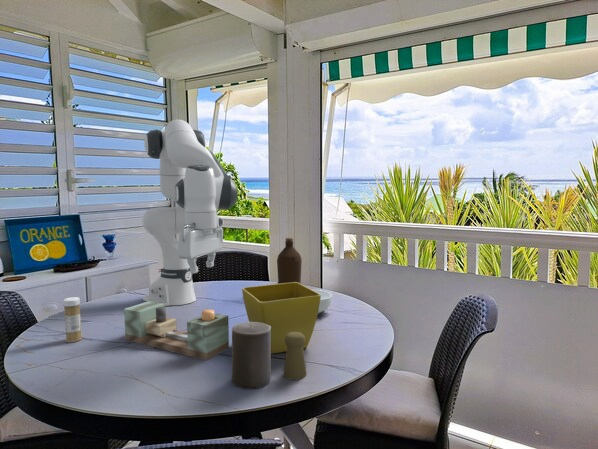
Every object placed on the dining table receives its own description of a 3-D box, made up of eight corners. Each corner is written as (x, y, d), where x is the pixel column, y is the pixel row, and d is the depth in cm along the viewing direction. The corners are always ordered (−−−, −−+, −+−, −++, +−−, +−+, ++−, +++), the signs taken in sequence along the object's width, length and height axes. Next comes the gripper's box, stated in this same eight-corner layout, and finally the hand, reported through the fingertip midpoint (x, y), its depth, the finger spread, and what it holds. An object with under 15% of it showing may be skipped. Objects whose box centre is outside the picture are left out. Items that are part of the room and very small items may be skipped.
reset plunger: (199, 325, 127) (198, 312, 127) (207, 321, 130) (207, 308, 130) (209, 327, 125) (208, 313, 125) (217, 323, 129) (216, 310, 128)
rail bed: (125, 339, 138) (124, 308, 137) (150, 330, 147) (148, 301, 146) (206, 360, 123) (206, 325, 122) (228, 348, 131) (228, 315, 130)
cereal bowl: (337, 309, 171) (338, 291, 170) (321, 321, 156) (321, 302, 155) (298, 304, 178) (298, 286, 177) (279, 315, 163) (279, 297, 162)
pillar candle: (238, 392, 104) (237, 331, 103) (227, 375, 113) (227, 318, 112) (276, 385, 108) (276, 326, 107) (263, 369, 117) (263, 314, 115)
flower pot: (241, 338, 139) (241, 286, 138) (296, 330, 147) (296, 281, 145) (260, 361, 122) (260, 302, 120) (322, 350, 129) (322, 295, 128)
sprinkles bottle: (82, 336, 141) (79, 295, 140) (81, 341, 137) (79, 299, 136) (65, 339, 139) (63, 297, 138) (65, 343, 135) (62, 301, 134)
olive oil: (306, 294, 192) (306, 237, 189) (291, 299, 184) (290, 240, 181) (288, 290, 199) (287, 235, 196) (272, 295, 190) (271, 238, 188)
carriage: (146, 335, 136) (145, 310, 135) (162, 328, 142) (162, 304, 141) (160, 338, 133) (159, 312, 132) (176, 331, 139) (176, 306, 138)
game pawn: (282, 369, 117) (282, 329, 115) (305, 368, 117) (305, 328, 116) (284, 380, 111) (283, 337, 109) (307, 379, 111) (307, 337, 110)
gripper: (192, 225, 114) (194, 277, 115) (226, 219, 134) (227, 264, 135) (171, 224, 116) (173, 276, 117) (207, 219, 136) (208, 263, 137)
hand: (202, 269), depth 126 cm, fingers open, 8 cm apart
